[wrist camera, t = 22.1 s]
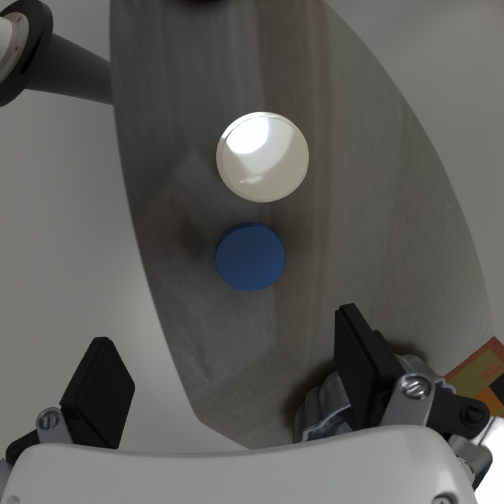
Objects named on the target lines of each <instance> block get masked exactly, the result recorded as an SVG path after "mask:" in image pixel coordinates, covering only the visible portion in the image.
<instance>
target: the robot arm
mask: <svg viewBox="0 0 504 504" xmlns="http://www.w3.org/2000/svg"><path fill="white" fill-rule="evenodd" d="M28 32H29V23H28V20H27V17H26V16H25V15H23V14H21V13H18V12H13V13H10V14H7V15H6V16H4V17H0V84H1V83H2V82H3V81H4V80H5V79H6V78H7V77H8V75H9V74H10V73H11V71H12V70H13V69H14V67H15V65H16V64H17V62H18V60H19V58H20V57H21V54H22V52H23V50H24V47H25V44H26V41H27V37H28ZM334 364H335V367H336V370H337V372H338V375H339V377H340V380H341V382H342V385H343V387H344V390H345V392H346V395H347V397H348V400H349V402H350V405H351V407H352V410H353V412H354V415H355V418H356V420H357V423H358V425H359V427H360V428H362V427H364V429H363V430H359V431H354V432H350V433H345V434H341V435H336V436H332V437H327V438H323V439H318V440H312V441H307V442H301V443H296V444H290V445H284V446H277V447H270V448H262V449H254V450H244V451H231V452H216V453H152V452H136V451H125V450H115V449H118V447H119V443H120V440H121V436H122V433H123V429H124V425H125V422H126V418H127V415H128V411H129V408H130V405H131V401H132V397H133V395H134V391H135V384H134V382H133V380H132V378H131V376H130V374H129V373H128V371H127V369H126V367H125V365H124V363H123V361H122V360H121V357H120V356H119V354H118V351H117V350H116V347H115V345H114V344H113V342H112V341H111V340H109V338H107V337H96V338H94V339H93V341H92V342H91V344H90V346H89V348H88V349H87V352H86V353H85V355H84V357H83V358H82V360H81V362H80V364H79V366H78V368H77V370H76V371H75V373H74V375H73V377H72V379H71V381H70V383H69V385H68V387H67V389H66V391H65V393H64V395H63V397H62V399H61V401H60V403H59V404H60V405H61V409H60V410H59V409H58V408H55V407H50V408H47V409H45V410H43V411H42V412H41V413H40V414H39V415H38V417H37V420H36V428H37V429H35V430H34V431H32V432H30V433H28V434H27V435H25V436H23V437H21V438H19V439H18V440H16V441H14V442H12V443H11V444H10V445H9V446H8V448H7V450H6V460H5V459H4V458H2V459H1V460H0V504H504V419H503V418H501V417H499V416H496V417H495V418H494V417H492V416H491V415H490V410H489V408H488V407H487V405H486V404H485V403H483V402H482V401H480V400H477V399H473V398H468V397H464V396H460V395H456V394H452V393H448V392H444V391H440V390H436V389H435V387H436V385H435V383H434V380H433V379H432V378H431V377H430V376H429V375H427V374H425V373H422V372H416V371H414V372H408V373H406V371H405V370H404V368H403V367H402V365H401V363H400V362H399V360H398V359H397V357H396V356H395V354H394V353H393V351H392V349H391V348H390V346H389V345H388V343H387V342H386V340H385V339H384V337H383V336H382V334H381V333H380V332H379V331H378V330H374V331H372V330H371V328H370V327H369V325H368V324H367V322H366V320H365V319H364V317H363V316H362V314H361V313H360V311H359V310H358V308H357V307H356V305H355V304H354V303H351V304H346V305H341V306H340V307H339V310H336V311H335V341H334ZM457 457H461V458H462V459H464V460H466V461H465V463H466V464H467V465H469V466H470V467H471V468H472V469H473V470H474V473H475V480H474V482H473V484H472V486H471V484H470V482H469V479H468V478H467V476H466V473H465V471H464V469H463V467H462V465H461V464H460V462H459V460H458V458H457ZM433 499H434V500H433Z"/></svg>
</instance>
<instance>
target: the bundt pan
mask: <svg viewBox="0 0 504 504" xmlns="http://www.w3.org/2000/svg"><path fill="white" fill-rule="evenodd" d="M395 356H396V357H397V359H398V360H399V362H400V363H401V365H402V367H403V368H404V370H405V371H406V373H408V372H414V371H416V372H422V373H425V374H427V375H429V376H430V377H431V378H432V379H433V380H434V383H435V385H436V387H435V389H436V390H440V391H444V392H448V393H452V394H456V389H455V387H454V386H453V385H452V384H450V383H446V382H445V378H444V377H443V376H438V375H437V374H436V373H435V372H434V371H433V370H432V369H431V368H430V367H429V366H428V365H427V364H426V363H424V362H423V361H422V360H421V359H420V358H419V357H417V356H415V355H404V356H400V355H397V354H395ZM363 429H364V427H362V428H360V427H359V425H358V423H357V420H356V418H355V415H354V412H353V410H352V407H351V405H350V402H349V400H348V397H347V395H346V392H345V390H344V387H343V385H342V382H341V380H340V377H339V375H338V372H337V371H335V372H334V373H332V374H331V375H329V376H328V377H327V378H326V379H325V381H324V382H323V384H322V386H319V387H314V388H312V389H311V390H309V391H308V393H307V395H306V398H305V402H304V403H303V404H302V405H301V406H300V407H299V408H298V410H297V412H296V414H295V417H294V423H293V444H296V443H301V442H307V441H312V440H318V439H323V438H327V437H332V436H336V435H341V434H345V433H350V432H354V431H359V430H363Z"/></svg>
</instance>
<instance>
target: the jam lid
mask: <svg viewBox="0 0 504 504" xmlns="http://www.w3.org/2000/svg"><path fill="white" fill-rule="evenodd" d="M281 244H282V243H281V240H280V239H279V238H278V237H277V235H276V233H274V232H273V231H272V230H271V229H269V227H266V226H264V225H261V224H257V223H252V222H251V223H242V224H240V225H237V226H233V228H231V229H230V230H228V231H226V233H225V234H224V235H223V237H222V238H220V242H219V244H218V245H217V249H216V250H217V253H216V256H215V259H216V267H217V269H218V272H219V274H220V276H221V277H222V278H223V279H224V281H225V282H227V283H228V284H229V285H231V286H232V287H234V288H237V289H240V290H244V291H255V290H260V289H263V288H265V287H267V286H269V285H271V284H272V283H273V282H274V281H275V280H276V279H277V278H278V277H279V275H280V274H281V272H282V270H283V267H284V262H285V255H284V252H285V251H284V249H283V247H282V245H281Z"/></svg>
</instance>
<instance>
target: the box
mask: <svg viewBox="0 0 504 504" xmlns="http://www.w3.org/2000/svg"><path fill="white" fill-rule="evenodd" d="M444 378H445V382H446V383H450V384H452V385H453V386H454V387H455V389H456V395H460V396H464V397H468V398H473V399H477V400H480V401H482V402H483V403H485V404H486V405H487V407H488V408H489V410H490V415H491V416H492V417H494V418H495V417H496V416H499V417H501V418H503V419H504V346H503V345H502V343H501V342H500V341H499V340H498V339H497V338H496V337H495V336H494V337H493V338H491V339H490V340H489V341H488V342H487V343H486V344H485V345H484V346H482V347H481V348H480V349H479V350H478V351H476V352H475V353H474V354H473V355H472V356H470V357H469V358H468V359H467V360H465V361H464V362H463V363H462V364H460V365H459V366H458V367H456V368H455V369H454V370H452V371H451V372H450V373H448V374H447V375H446V376H444ZM469 467H470V466H469ZM470 469H471V471H472V473H474V470H473V469H472V468H471V467H470Z"/></svg>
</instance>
